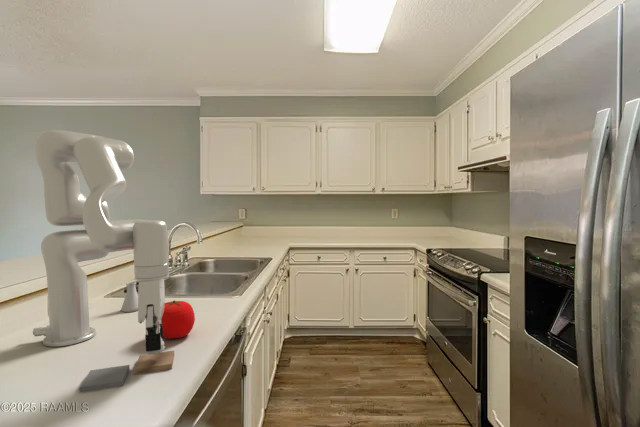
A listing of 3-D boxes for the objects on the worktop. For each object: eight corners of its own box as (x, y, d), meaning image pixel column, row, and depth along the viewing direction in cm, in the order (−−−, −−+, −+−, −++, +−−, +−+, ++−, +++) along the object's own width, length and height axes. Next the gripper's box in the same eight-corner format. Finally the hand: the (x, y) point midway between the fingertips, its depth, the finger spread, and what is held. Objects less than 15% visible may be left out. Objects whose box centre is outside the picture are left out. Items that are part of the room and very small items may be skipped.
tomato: (203, 331, 109) (202, 297, 109) (178, 346, 98) (177, 308, 98) (171, 327, 113) (169, 294, 112) (142, 342, 101) (141, 305, 101)
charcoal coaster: (79, 393, 75) (78, 387, 75) (90, 375, 82) (90, 370, 82) (122, 386, 77) (122, 380, 77) (129, 369, 85) (129, 364, 85)
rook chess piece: (168, 350, 87) (167, 317, 87) (149, 356, 84) (148, 322, 84) (160, 345, 90) (158, 314, 90) (141, 351, 87) (140, 318, 87)
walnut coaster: (134, 374, 82) (134, 369, 82) (140, 359, 90) (139, 355, 90) (171, 368, 85) (171, 363, 85) (174, 355, 92) (174, 350, 92)
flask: (134, 313, 128) (133, 285, 128) (116, 312, 129) (115, 285, 129) (147, 307, 135) (146, 280, 135) (130, 306, 137) (129, 280, 136)
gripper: (140, 267, 93) (143, 336, 94) (127, 280, 77) (131, 363, 78) (171, 264, 96) (174, 332, 96) (165, 277, 80) (168, 358, 80)
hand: (154, 345), depth 87 cm, fingers closed on rook chess piece, 4 cm apart
